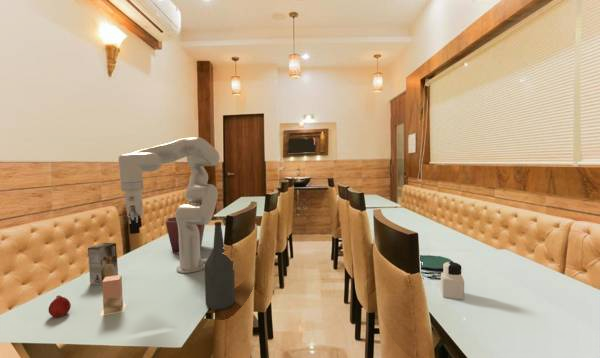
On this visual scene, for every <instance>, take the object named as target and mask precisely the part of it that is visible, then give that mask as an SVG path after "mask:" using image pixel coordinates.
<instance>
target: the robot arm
mask: <svg viewBox="0 0 600 358" xmlns="http://www.w3.org/2000/svg"><path fill="white" fill-rule="evenodd" d="M184 158H186V161H187V164H188V166H189V169H190V173H191V175H190V179H189V182H188V185H187V188H186V191H185V195H184V196H185V197H184V198H185V200H186V201H187V202H188V203H185V204H180V205H179V206H178V207H177V208H176V210H175V214H174V215H175V216H174V217H176V221H177V225H178V232H179V253H178V254H179V265H178V266H177V267H176V272H178V273H182V274H189V273H196V272H200V271H201V270H203V269H204V264H205V262H206V260H207V259H208V258H204V259H203V258H202V257H201V248H200V234H199V229H198V227H197V225H196V224H198V225H205V226H206V225H209V224H210V222H211V221H212V219H213V216H214V212H215V210H216V205H217V202H218V198H219V194H218V188H217V187H216V185H214V184H211V183H208V181H209V174H208V172H207V170H206V169H205V167H215V166H216V165H218V164H219V162H220V160H221V159H220V158H221V157H220V154H219V152H218V150H217V149H216V148H215V147H214V146H213V145H211V144H210V143H209V142H208V141H207V140H206V139H204V138H202V137H199V136H198V137H197V136H196V137H195V136H194V137H183V138H179V139H177V140H176V139H175V140H174V141H171V142H168V143H164V144H163V143H162V144H159V145H156V146H153V147H148V148H143V149H140V150H136V151H134V152H131V153H123V154H120V155H119V156H118V166H119V167H118V170H119V180H120V191H121V192H123V193H124V198H125V207H126V209H125V210H126V215H127V218H129V219H128V221H129V223H128V227H129V234H130V235H135V234H140V231H141V230H140V228H142V227H143V226H142V224H143V223H142V216H143V215H144V204H143V195H142V190H144V179H143V178H144V176H143V172H146V173H148V172H149V173H150V172H155V171H158V170H159V169H160V168H162V165H163V164H169V163H171V164H172V163H174V162H175V163H176V162H177V161H179V160H182V159H184Z"/></svg>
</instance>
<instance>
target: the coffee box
mask: <svg viewBox="0 0 600 358" xmlns="http://www.w3.org/2000/svg"><path fill="white" fill-rule="evenodd" d="M87 255H88V257H87V258H88V270H89V284H90V285H94V286H95V285H97V286H102V282H103V280H104V278H105V277H109V276H116V275H119V267H118V256H117V255H118V253H117V243H116V242H102V243H99V244H97V245H93V246H90V247H88V248H87Z"/></svg>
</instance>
